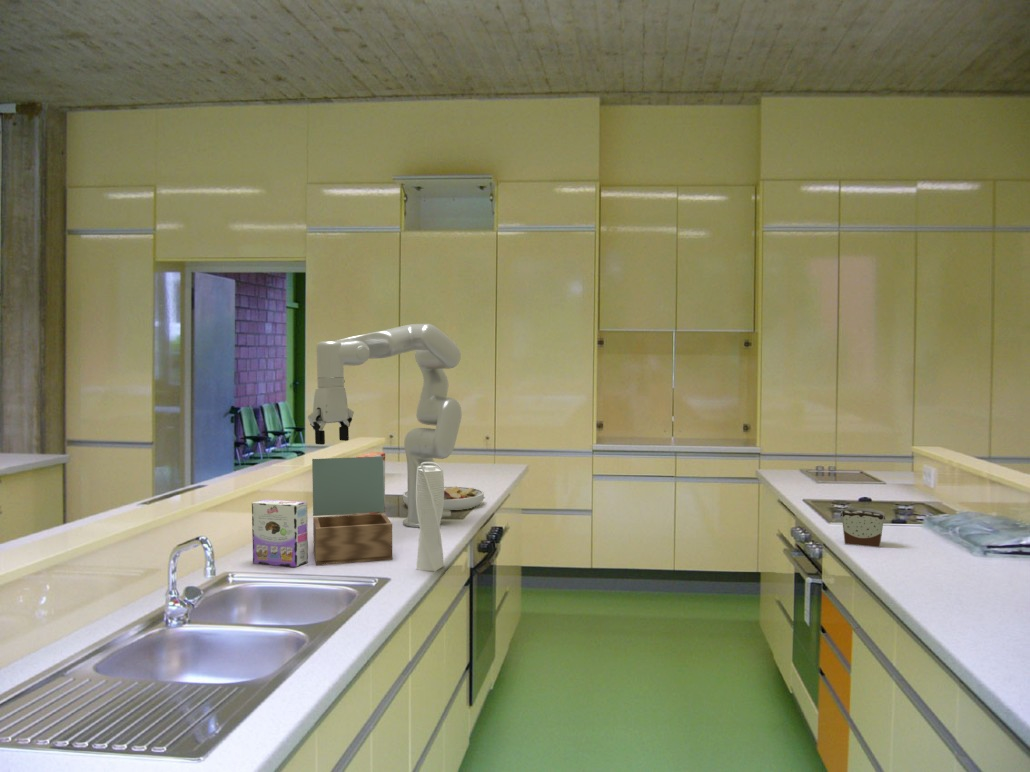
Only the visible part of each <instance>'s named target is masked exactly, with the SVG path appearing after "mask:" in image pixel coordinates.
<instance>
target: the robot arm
mask: <svg viewBox="0 0 1030 772" xmlns="http://www.w3.org/2000/svg"><path fill="white" fill-rule="evenodd" d="M413 351H415V352H414V359H415V362H416V364H417V366H418V367H419V369H420V372H421V374H422V377H423V378H422V379H423V381H422V382H423V384H422V389H421V391H420V392H421V393H420V396H419V401H418V405H417V408H416V418H417V421H418V422H419V423H421V424H422V425H424V426H425V425H426V426H436V427H435V428H430V427H428V428H427V427H415V428H412V429H410V430H409V431H408V432H407V433H406V434H405V437H404V442H403V446H404V452H405V456H406V466H407V469H406V470H407V491H408V506H407V518H404V519H403V520H402V524H403V526H406V527H412V528H420V527H419V522H418V516H417V508H416V476H417V467H419V466H421V463H423V462H434V463H435V461H434V459H438V460H443V459H447V458H449V457H450V455H452V453H453V452H454V448H455V445H456V442H457V439H458V438H457V437H458V434H459V429H460V426H461V420H462V413H463V412H462V407H461V404H460V402H459V401H458V400H457V399H455V398H452V397H449V396H448V391H449V380H448V379H449V378H448V376H447V374H446V372H445V370H448V369H449V370H450V369H454V368H456V367H457V366H458V365H459V363H460V362H461V358H462V355H461V354H462V353H461V351H460V349H459V346H458V345H457V344H456V343H455V342H454V340H452V339H450V337H448V335H446V334H445V333H444V332H443V331H442V330H441V329H439V328H438V327H437V326H435V325H433V324H431V323H413V324H411V323H410V324H406V325H402V326H401V325H400V326H396V327H392V328H387V329H384V330H379V331H373V332H369V333H365V334H360V335H354V336H349V337H345V338H340V339H336V340H322V341H319V342H318V343H317V344H316V351H315V352H316V377H317V379H316V381H317V385H316V386H317V388H315V391H314V395H313V405H312V406H313V407H312V412H311V413H310V414H309V415H308V416H307V419H308V421H309V423H310V424H309V425H310V426H311V427H312V430H313V431H314V440H315V445H322V446H323V445H325V444H326V437H325V435H326V434H325V430H324V428H325V426H326V425H327V424H333V423H338V425H340V426H339V428H338V436H339V437H338V438H339V441H342V442H343V441H345V442H347V441H349V440H350V437H349V432H350V431H349V427H350V426H351V423H352V420H353V417H354V414H355V413H354V411H353V410H352V409H350V408H349V407H348V405H349V404H348V398H347V397H348V396H347V392H346V388H345V381H346V380H345V378H344V377H345V374H344V373H345V371H344V369H345V368H344V366H350V367H351V366H361V365H363V364H366V363H367V361H368V360H370V359H385V358H390V357H394V356H397V355H401V354H406V353H408V352H409V353H410V352H413ZM444 369H445V370H444ZM425 465H431V466H436V465H434V464H423V466H425ZM419 469H422V468H419ZM424 469H425V467H424ZM451 517H452V511H443V512H442V517H441V519H442V518H451ZM440 523H441V524H442V521H441V522H440Z"/></svg>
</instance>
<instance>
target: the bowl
mask: <svg viewBox="0 0 1030 772" xmlns="http://www.w3.org/2000/svg"><path fill="white" fill-rule="evenodd" d="M484 492H485V491H483V490H481V489H478V488H474V487H465V486H444V504H443V510H454V509H464V508H470V507H474V508H476V507H478V506H480V504H481V503H482V502H483V500H484V498H485V497H484V496H485V495H484ZM402 498H403V502H404V504H405V505H406V506H407V507H408V490H406V491H404V492H403V493H402ZM475 506H476V507H475Z"/></svg>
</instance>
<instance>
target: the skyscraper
mask: <svg viewBox="0 0 1030 772" xmlns="http://www.w3.org/2000/svg"><path fill="white" fill-rule="evenodd" d="M423 464H434V465H435V466H431V465H425V466H423ZM424 467H425V469H424ZM419 468H422V469H419ZM444 481H445V479H444V469H443V468H442V466H441V465H440V464H439V463H437V462H435V461H434V462H423V463H421V466H419V467H417V476H416V508H417V516H418V522H419V527H418V528H419V537H418V547H417V559H416V560H417V561H416V570H418V571H419V570H420V571H428V572H436V571H437V570H439V569H441V568H444V567H445V562H444V552H443V543H442V542H443V541H442V534H441V533H442V532H441V527H440V525H441V524H440V522H441V523H442V518H443V517H442V512H443V504H444V487H445V482H444ZM441 517H442V518H441Z"/></svg>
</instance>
